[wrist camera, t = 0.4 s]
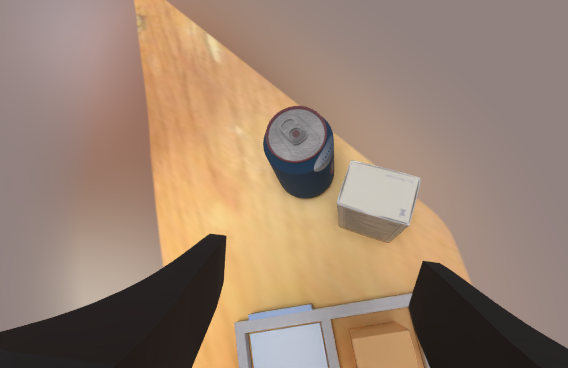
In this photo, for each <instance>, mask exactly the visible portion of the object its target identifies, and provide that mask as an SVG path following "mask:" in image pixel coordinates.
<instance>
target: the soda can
mask: <svg viewBox="0 0 568 368" xmlns="http://www.w3.org/2000/svg"><path fill="white" fill-rule="evenodd" d="M263 145H264V152H265V155H266V157H267V159H268V161H269V163H270V164H271V166H272V168H273V170H274V172H275V174H276V176H277V177H278V179H279V181H280V183H281V185H282V187H283V188H284V189H285V190H286V191H287V192H288V193H290V194H291V195H293V196H296V197H299V198H312V197H315V196H318V195H320V194H321V193H323V192H324V191H325V190H326V189H327V188H328V187H329V186H330V184H331V182H332V180H333V176H334V139H333V132H332V129H331V127H330V125H329V124H328V122H327V121H326V120H325V119H324V118H323V117H322V116H320V115H319V114H318V113H317V112H316V111H314V110H313V109H310V108H308V107H304V106H292V107H288V108H285V109H283V110H281V111H280V112H278V113H277V114H276V115H275V116H274V117H273V118H272V119H271V121H270V122H269V124H268V126H267V130H266V133H265V136H264V142H263Z"/></svg>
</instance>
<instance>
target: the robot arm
mask: <svg viewBox="0 0 568 368" xmlns="http://www.w3.org/2000/svg"><path fill="white" fill-rule="evenodd" d="M225 251H226V236H224V235H216V234H209V235H208V236H206V237H205V238H203V239H202V240H201V241H199V242H198V243H197V244H196V245H194V246H193V247H192V248H190V249H189V250H188V251H186V252H185V253H184V254H182V255H181V256H180V257H178V258H177V259H175V260H174V261H173V262H171V263H169V264H168V265H166V266H165V267H163V268H162V269H160V270H159V271H157V272H156V273H154V274H152V275H151V276H149V277H147V278H145V279H144V280H142V281H140V282H138V283H136V284H134V285H132V286H130V287H128V288H126V289H124V290H122V291H120V292H118V293H115V294H113V295H111V296H109V297H106V298H104V299H101V300H99V301H97V302H95V303H92V304H89V305H87V306H84V307H82V308H79V309H76V310H73V311H70V312H68V313H64V314H61V315H58V316H55V317H52V318H49V319H46V320H42V321H39V322H35V323H31V324H28V325H24V326H21V327H17V328H13V329H10V330H6V331H2V332H0V368H192V366H193V363H194V361H195V358H196V356H197V354H198V351H199V349H200V346H201V344H202V342H203V339H204V337H205V334H206V332H207V330H208V327H209V325H210V322H211V320H212V317H213V315H214V312H215V310H216V307H217V304H218V301H219V297H220V294H221V290H222V286H223V282H224V268H225ZM409 310H410V314H411V318H412V322H413V325H414V329H415V332H416V335H417V337H418V340H419V342H420V345H421V347H422V350H423V352H424V355H425V357H426V359H427V362H428V364H429V366H430V368H568V349H567V348H565V347H564V346H562V345H560V344H559V343H557V342H555V341H554V340H552V339H550V338H548V337H547V336H545V335H544V334H542V333H540V332H538V331H537V330H535V329H534V328H532V327H531V326H529V325H527V324H526V323H524V322H523V321H521V320H520V319H518V318H517V317H515V316H514V315H512V314H511V313H509V312H508V311H506V310H505V309H504V308H502V307H501V306H499V305H498V304H496V303H495V302H494V301H492V300H491V299H489V298H488V297H487V296H485V295H484V294H483V293H481V292H480V291H479V290H477V289H476V288H475V287H473V286H472V285H470V284H469V283H468V282H466V281H465V280H464V279H462V278H461V277H460V276H458V275H457V274H455V273H454V272H453V271H451V270H450V269H448V268H447V267H445V266H444V265H442V264H440V263H434V262H427V261H423V262H422V265H421V269H420V272H419V275H418V278H417V281H416V284H415V287H414V290H413V293H412V296H411V299H410V303H409Z"/></svg>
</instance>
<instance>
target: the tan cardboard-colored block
mask: <svg viewBox="0 0 568 368" xmlns="http://www.w3.org/2000/svg"><path fill="white" fill-rule="evenodd" d="M349 331H350V336H351V341H352V346H353V351H354V355H355V360H356V365H357V368H419V366H418V362H417V358H416V355H415V351H414V347H413V343H412V340H411V336H410V332H409V330H408V329H406V328H404V327H403V326H401V325H400V324H398V323H396V322H390V323H384V324H377V325H371V326H365V327H358V328H352V329H349Z"/></svg>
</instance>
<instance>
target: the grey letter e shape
mask: <svg viewBox="0 0 568 368" xmlns="http://www.w3.org/2000/svg"><path fill="white" fill-rule="evenodd" d="M411 296H412V293H407V294H401V295H395V296H389V297H383V298H377V299H371V300H365V301H359V302H353V303H347V304H340V305H334V306H328V307H322V308H316V309H313V307H312V304H306V305H300V306H294V307H288V308H282V309H276V310H270V311H264V312H258V313H252V314H249V315H248V317H249V320H244V321H238V322H235V323H234V324H235V333H236V343H237V353H238V362H239V368H252V362H251V354H250V345H249V336H248V333H249V332H255V331H261V330H267V329H273V328H280V327H286V326H292V325H298V324H304V323H311V322H317V321H321V323H322V329H323V334H324V340H325V345H326V350H327V356H328V361H329V367H330V368H340V364H339V359H338V354H337V349H336V344H335V339H334V333H333V328H332V323H331V319H335V318H341V317H348V316H354V315H360V314H366V313H372V312H378V311H385V310H391V309H397V308H403V307H409V303H410V299H411ZM409 311H410V310H409ZM410 315H411V314H410ZM413 326H414V325H413ZM414 330H415V329H414ZM415 333H416V332H415ZM416 337H417V335H416ZM250 339H251V347H252V356H253V364H254V368H328V364H327V359H326V353H325V348H324V342H323V337H322V331H321V326H320V323H315V324H308V325H302V326H296V327H290V328H284V329H277V330H271V331H265V332H259V333H253V334H250ZM417 341H418V344H419V348H420V352H421V356H422V359H423V363H424V367H425V368H430V366H429V364H428V362H427V359H426V357H425V355H424V352H423V350H422V347H421V345H420V342H419V340H418V337H417Z"/></svg>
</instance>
